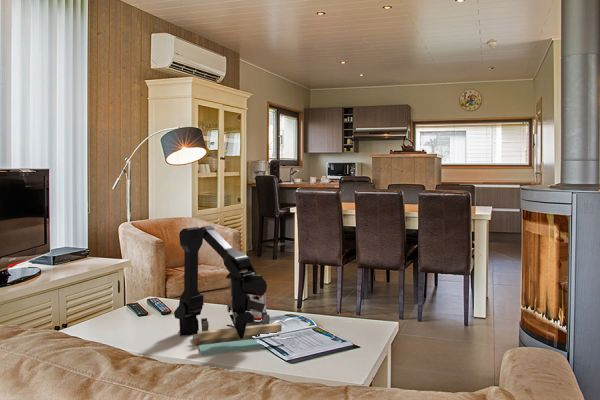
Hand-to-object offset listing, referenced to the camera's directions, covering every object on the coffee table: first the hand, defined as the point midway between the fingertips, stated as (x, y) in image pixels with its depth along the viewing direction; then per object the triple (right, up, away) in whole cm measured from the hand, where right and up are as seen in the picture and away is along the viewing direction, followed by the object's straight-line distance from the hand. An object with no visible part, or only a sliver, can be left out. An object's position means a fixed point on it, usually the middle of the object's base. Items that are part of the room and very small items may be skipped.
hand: (240, 337), depth 182 cm
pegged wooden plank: (-3, -1, +10) cm, 11 cm away
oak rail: (0, +1, 0) cm, 1 cm away
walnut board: (-3, -3, +10) cm, 11 cm away
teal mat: (0, -3, 0) cm, 3 cm away
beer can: (+4, -2, +31) cm, 31 cm away
